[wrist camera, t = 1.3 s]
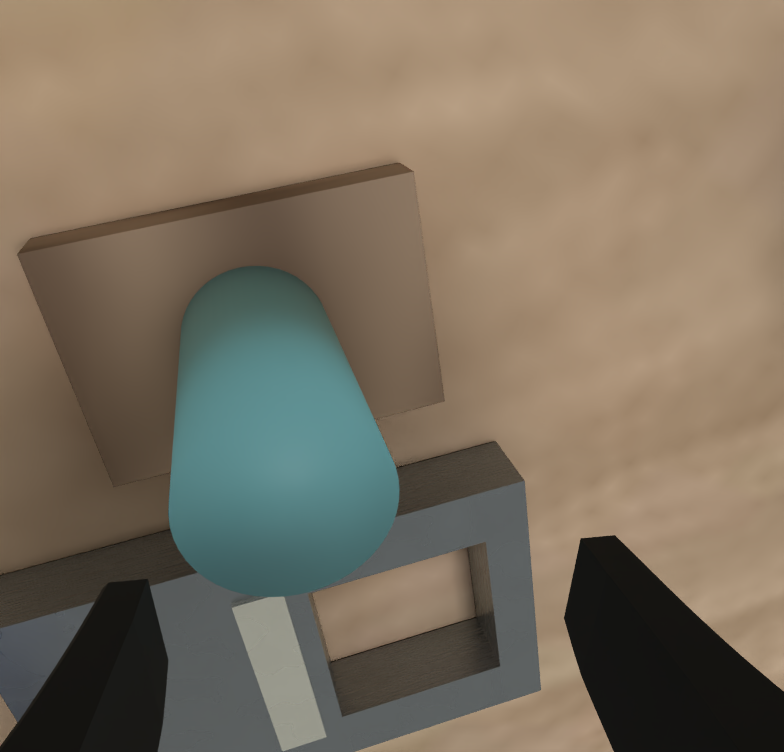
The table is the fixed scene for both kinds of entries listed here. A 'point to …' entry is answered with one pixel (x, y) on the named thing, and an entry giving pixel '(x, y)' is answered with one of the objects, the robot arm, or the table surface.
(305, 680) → the plate
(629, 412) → the table surface
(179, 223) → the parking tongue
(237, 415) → the peg
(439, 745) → the table surface
